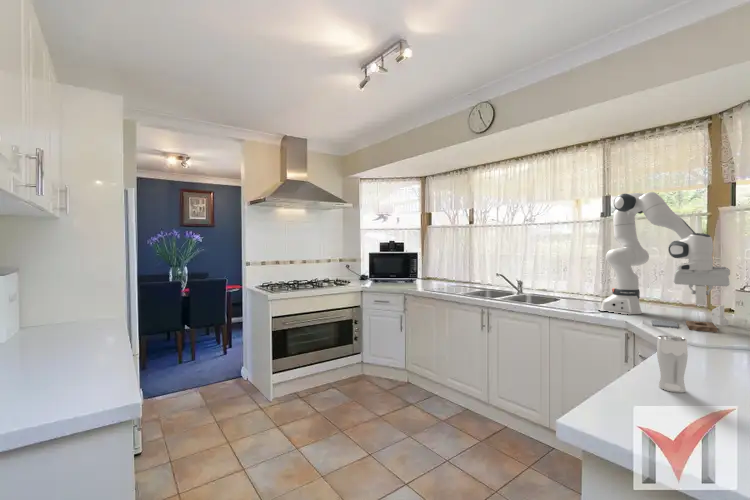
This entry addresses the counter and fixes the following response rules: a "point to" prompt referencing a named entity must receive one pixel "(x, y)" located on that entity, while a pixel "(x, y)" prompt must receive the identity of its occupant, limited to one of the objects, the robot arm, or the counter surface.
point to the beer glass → (672, 362)
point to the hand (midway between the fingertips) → (700, 294)
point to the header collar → (701, 326)
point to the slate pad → (664, 324)
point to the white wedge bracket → (719, 316)
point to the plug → (700, 295)
